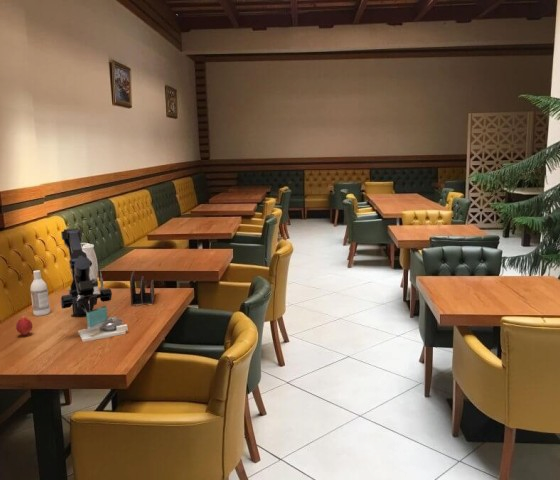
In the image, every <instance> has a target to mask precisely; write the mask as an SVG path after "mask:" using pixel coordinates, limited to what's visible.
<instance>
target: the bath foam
mask: <svg viewBox="0 0 560 480" xmlns="http://www.w3.org/2000/svg"><path fill="white" fill-rule="evenodd" d="M30 297H31V298H30V299H31V304H32V313H33V315H34V316H36V317H38V316H45V315H46V316H47V315H49V314H50V312H51V309H50V308H51V306H50V298H49V290H48V285H47V283H46V281H44V279H43V278H42V273H41V270H39V269H38V270H33V281H32V282H31V283H30Z"/></svg>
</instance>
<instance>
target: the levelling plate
mask: <svg viewBox="0 0 560 480" xmlns="http://www.w3.org/2000/svg"><path fill="white" fill-rule="evenodd" d="M128 330H129V329H128V324H122V325H120V326H116V329H113V330H101V329H99V327H98V328H96V329H93V330H88V329H87V328H83V329H79V330H77V331H78V335H79V336H80V338H81V340H82V342H83V343H85V342H91V341H96V340H99V339H100V340H101V339H105V338H110V337H115V336H120V335H125V334H126V333H127V332H126V331H128Z"/></svg>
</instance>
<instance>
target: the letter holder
mask: <svg viewBox="0 0 560 480" xmlns="http://www.w3.org/2000/svg"><path fill="white" fill-rule="evenodd" d="M139 284H140V285H139V288H140V291H139V292H138V293H137V290H136V271H135V270H133V271H132V272H131V275H130V279H129V288H130V291H129V292H130V306H135V307H137V306H136V305H146V306H149V305H148V304H153V305H154V301H155V300H154V299H155V296H154V293H155V286H154V285H155V284H154V279H151V282H150V287H149V292H146V288H145V287H146V285H145V276H144V275H142V276H141V279H140V283H139ZM155 294H156V293H155ZM153 300H154V301H153Z"/></svg>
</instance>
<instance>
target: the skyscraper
mask: <svg viewBox="0 0 560 480" xmlns="http://www.w3.org/2000/svg"><path fill="white" fill-rule="evenodd" d="M80 243H81V247H82V251H83V252H85V253H86V255H87V258H89V260H90V261H91V262H92V265H91V267H90V273H89V276H90V280H92V279H93V278H97V279H98V273H99V272H100V273H99V277H100V279H99V282H100V287H99V285H98V286H97V287H94V292H93V293H94V294H97V293H100V290H102V289H105V287H104V278H103V275H102V271H101V270H100V271H99V268H98V267H99V265H98V259H97V255H96V252H95V249H94V248H95V247H94V246H95V245H94V244H92V243H91V244H90V243H88V242H80ZM99 288H100V289H99Z"/></svg>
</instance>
